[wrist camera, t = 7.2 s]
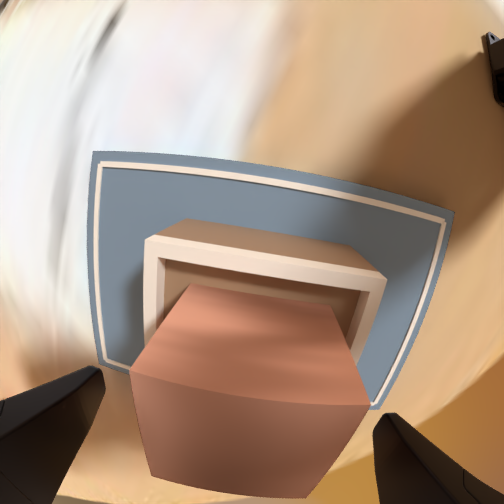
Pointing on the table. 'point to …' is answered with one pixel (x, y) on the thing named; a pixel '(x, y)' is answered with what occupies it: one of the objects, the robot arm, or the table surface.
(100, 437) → the table surface
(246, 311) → the terracotta block
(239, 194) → the blueprint board
